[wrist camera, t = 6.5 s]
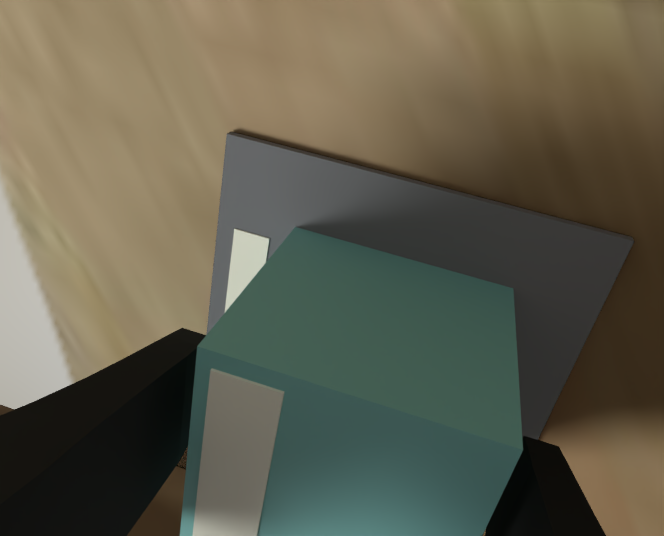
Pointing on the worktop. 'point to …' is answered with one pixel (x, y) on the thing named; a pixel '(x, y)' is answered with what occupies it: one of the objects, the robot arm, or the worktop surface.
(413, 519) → the cube
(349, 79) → the worktop surface
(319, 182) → the mat
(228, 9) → the worktop surface
